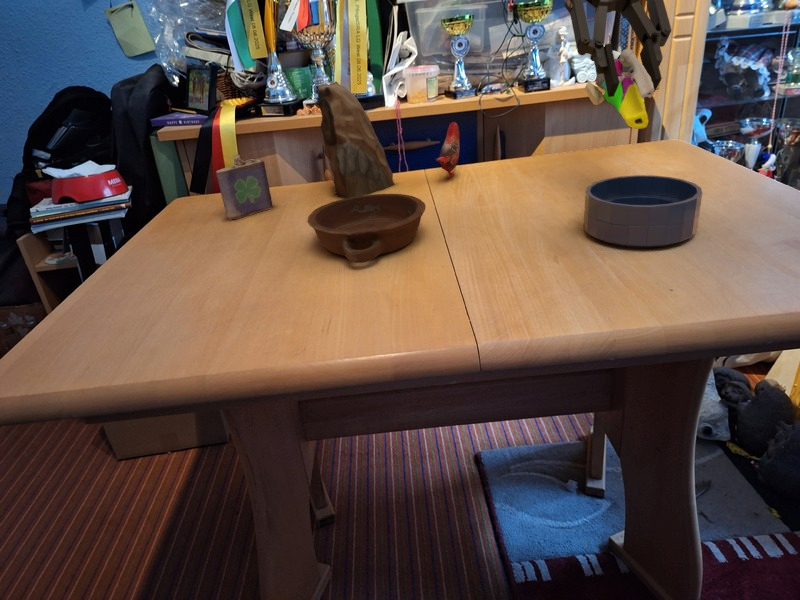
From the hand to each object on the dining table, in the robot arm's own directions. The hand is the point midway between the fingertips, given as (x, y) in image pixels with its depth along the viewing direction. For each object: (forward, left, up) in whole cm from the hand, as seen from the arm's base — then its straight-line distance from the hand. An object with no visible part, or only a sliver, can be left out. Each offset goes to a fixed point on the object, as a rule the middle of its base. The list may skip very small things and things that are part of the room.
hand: (634, 87), depth 75 cm
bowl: (+2, +7, -18) cm, 19 cm away
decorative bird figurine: (+16, -34, -18) cm, 42 cm away
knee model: (-1, -4, -4) cm, 5 cm away
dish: (+37, -8, -18) cm, 42 cm away
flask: (+55, -34, -18) cm, 67 cm away
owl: (+33, -38, -18) cm, 54 cm away
